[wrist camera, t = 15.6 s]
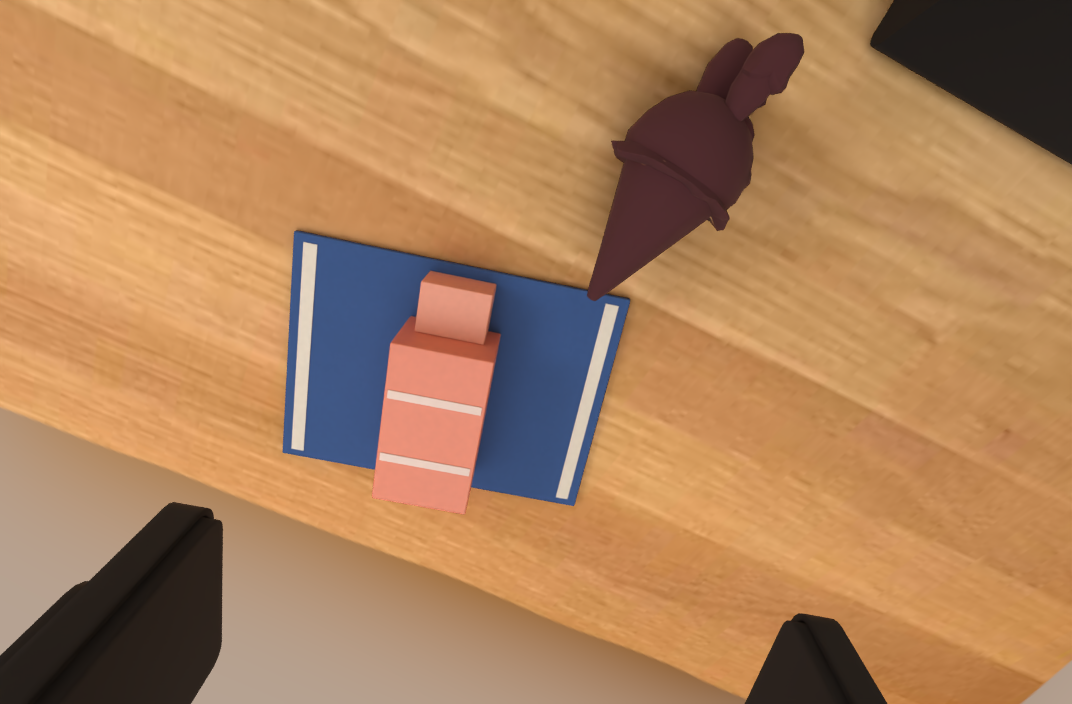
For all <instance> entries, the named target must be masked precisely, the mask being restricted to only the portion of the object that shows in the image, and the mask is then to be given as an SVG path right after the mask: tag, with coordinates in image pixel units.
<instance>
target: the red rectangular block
mask: <svg viewBox="0 0 1072 704" xmlns="http://www.w3.org/2000/svg"><path fill="white" fill-rule="evenodd" d="M496 286H497V285H496V284H494V283H489V282H484V281H479V280H474V279H469V278H464V277H459V276H454V275H450V274H445V273H440V272H435V271H430V272H429V273H428V274H427V275H426V277H425V278H424V279H423V280H422V281H421V287H420V294H419V301H418V309H417V316H416V317H414V316H410V317H409V319H408V320H407V321H406V323H405V324H404V325H403V327H402V328H401V329H400V331H399V332H398V333H397V335H396V336H395V338H394V339H393V340H392V342H391V343H390V350H389V358H388V366H387V375H386V383H385V391H384V400H383V408H382V416H381V425H380V433H379V441H378V449H377V458H376V466H375V474H374V483H373V491H372V498H376V499H381V500H387V501H392V502H398V503H403V504H409V505H414V506H420V507H425V508H431V509H436V510H442V511H448V512H453V513H459V514H465V513H466V508H467V504H468V499H469V494H470V490H471V485H472V480H473V476H474V471H475V466H476V461H477V455H478V450H479V445H480V440H481V435H482V430H483V425H484V419H485V414H486V409H487V404H488V399H489V394H490V388H491V383H492V378H493V373H494V368H495V363H496V357H497V352H498V347H499V342H500V337H501V334H499V333H494V332H489V331H488V329H489V324H490V319H491V313H492V308H493V302H494V297H495V292H496Z"/></svg>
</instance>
